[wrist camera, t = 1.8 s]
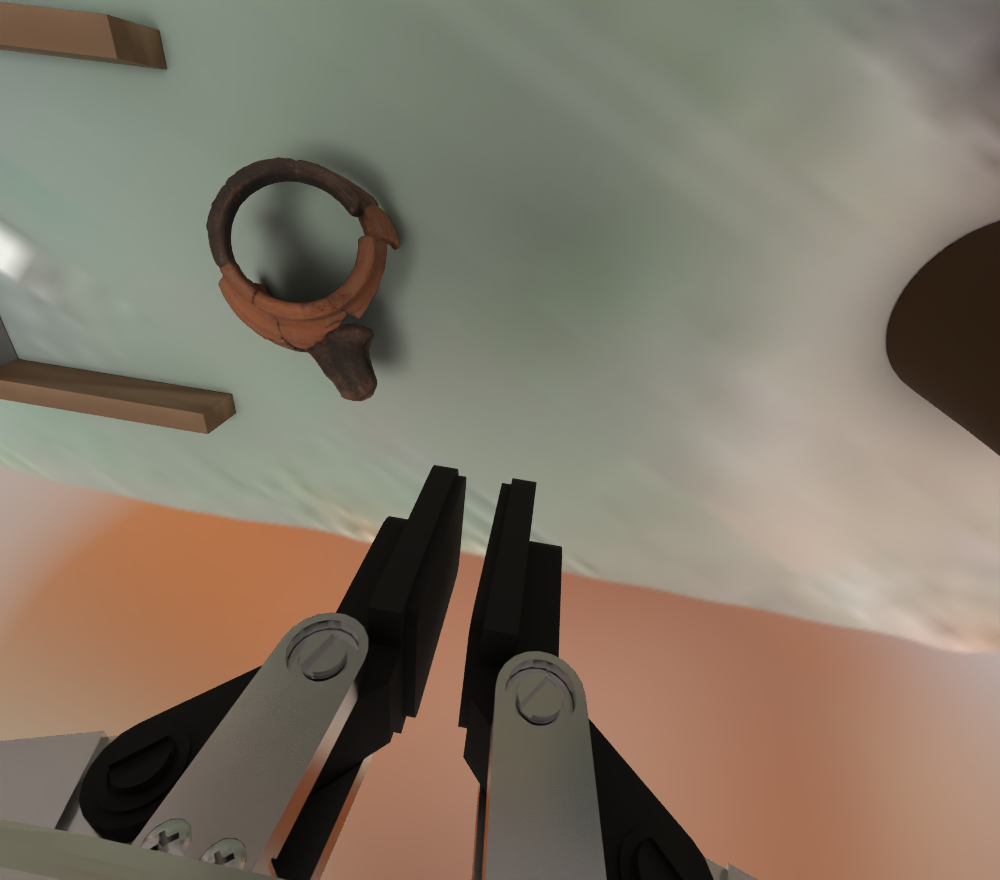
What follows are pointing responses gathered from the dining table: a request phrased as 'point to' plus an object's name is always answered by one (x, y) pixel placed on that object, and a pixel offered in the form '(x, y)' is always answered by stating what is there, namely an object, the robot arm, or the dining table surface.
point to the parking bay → (3, 369)
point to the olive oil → (954, 334)
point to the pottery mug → (316, 320)
